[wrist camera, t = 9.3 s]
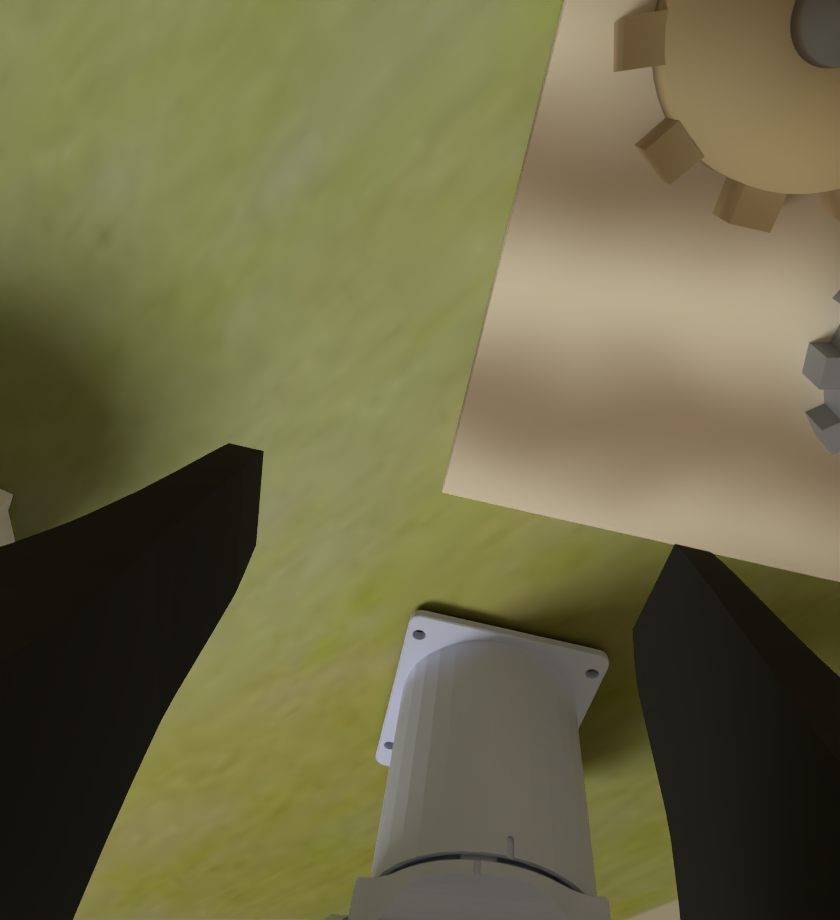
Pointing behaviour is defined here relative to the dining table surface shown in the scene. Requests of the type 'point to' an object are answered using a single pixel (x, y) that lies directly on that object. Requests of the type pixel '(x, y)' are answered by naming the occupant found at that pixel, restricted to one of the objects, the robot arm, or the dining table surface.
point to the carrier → (670, 284)
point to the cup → (5, 519)
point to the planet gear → (825, 388)
